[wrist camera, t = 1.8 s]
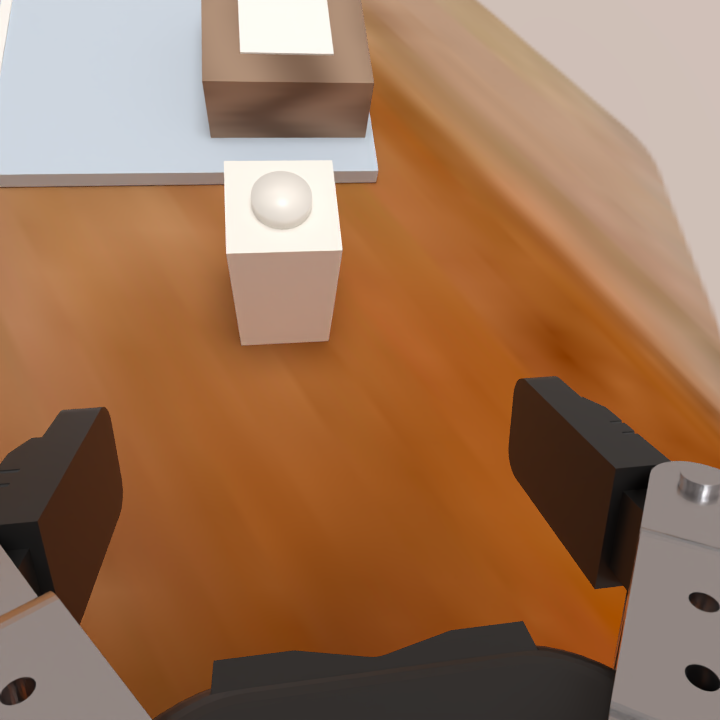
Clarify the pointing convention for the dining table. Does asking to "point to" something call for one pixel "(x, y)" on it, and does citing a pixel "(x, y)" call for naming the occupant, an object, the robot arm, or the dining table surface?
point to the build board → (181, 89)
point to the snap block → (282, 248)
